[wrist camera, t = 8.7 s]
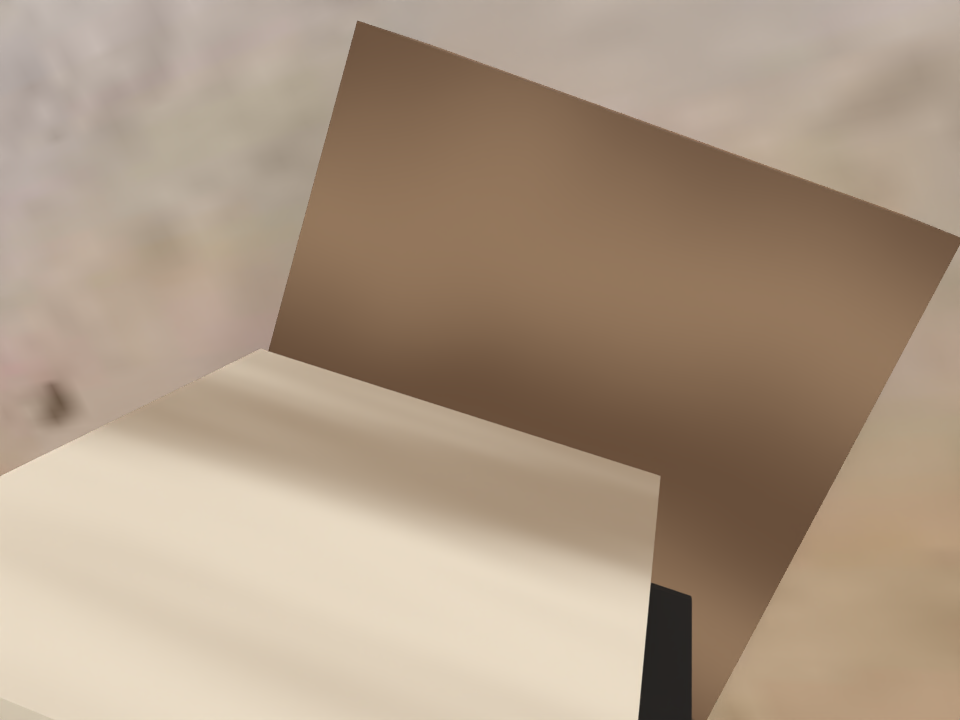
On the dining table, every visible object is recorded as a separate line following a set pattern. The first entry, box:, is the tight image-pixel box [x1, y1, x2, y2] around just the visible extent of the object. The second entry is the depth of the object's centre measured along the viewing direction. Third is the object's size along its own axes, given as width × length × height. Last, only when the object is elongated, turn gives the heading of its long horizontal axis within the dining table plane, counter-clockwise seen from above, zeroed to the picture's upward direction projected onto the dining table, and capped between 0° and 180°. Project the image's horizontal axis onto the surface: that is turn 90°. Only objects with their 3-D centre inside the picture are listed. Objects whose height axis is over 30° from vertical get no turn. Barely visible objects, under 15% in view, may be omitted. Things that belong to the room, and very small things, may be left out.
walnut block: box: [269, 21, 960, 720], centre depth 20 cm, size 12×12×5 cm
